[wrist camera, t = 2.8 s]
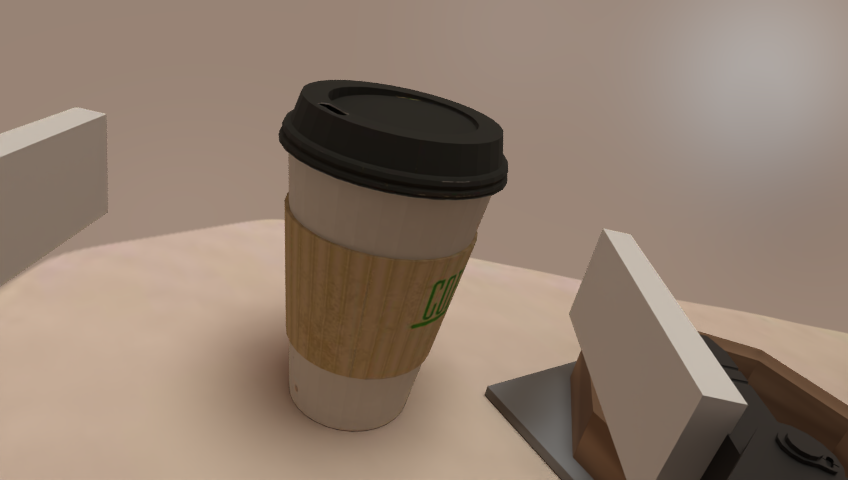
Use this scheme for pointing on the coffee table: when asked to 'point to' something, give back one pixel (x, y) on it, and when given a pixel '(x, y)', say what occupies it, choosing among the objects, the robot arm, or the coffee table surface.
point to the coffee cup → (376, 238)
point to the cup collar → (588, 431)
